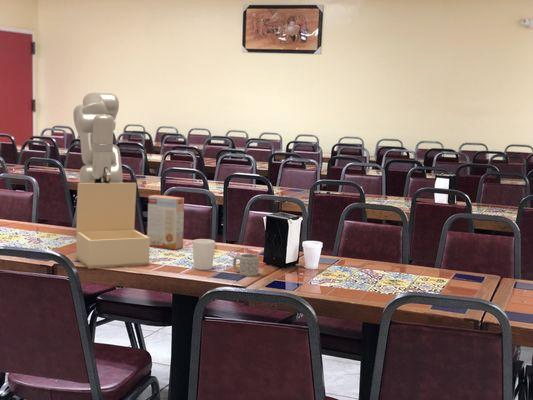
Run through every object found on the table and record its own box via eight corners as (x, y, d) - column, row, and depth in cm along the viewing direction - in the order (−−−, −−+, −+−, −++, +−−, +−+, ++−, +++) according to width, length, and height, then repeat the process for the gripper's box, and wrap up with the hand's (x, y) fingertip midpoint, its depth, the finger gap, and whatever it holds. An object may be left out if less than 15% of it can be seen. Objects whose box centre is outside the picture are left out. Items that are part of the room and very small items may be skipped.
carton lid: (76, 231, 282) (72, 227, 287) (134, 229, 292) (129, 225, 297) (78, 183, 279) (74, 180, 284) (136, 182, 289) (131, 180, 294)
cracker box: (183, 248, 312) (185, 197, 309) (175, 250, 306) (176, 198, 303) (155, 244, 318) (156, 194, 315) (146, 246, 312) (147, 195, 310)
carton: (76, 258, 283) (76, 231, 282) (133, 255, 294) (134, 229, 292) (88, 268, 268) (89, 240, 266) (149, 265, 278) (149, 238, 276)
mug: (261, 274, 272) (262, 255, 271) (251, 277, 266) (252, 258, 265) (238, 269, 277) (238, 251, 276) (227, 273, 271) (228, 254, 270)
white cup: (200, 264, 282) (201, 238, 281) (218, 268, 278) (219, 241, 277) (187, 268, 275) (188, 241, 274) (205, 271, 272) (206, 243, 270)
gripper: (86, 146, 295) (86, 190, 297) (99, 150, 280) (98, 196, 282) (106, 146, 298) (105, 190, 301) (119, 150, 283) (118, 196, 285)
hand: (101, 193), depth 291 cm, fingers open, 9 cm apart
